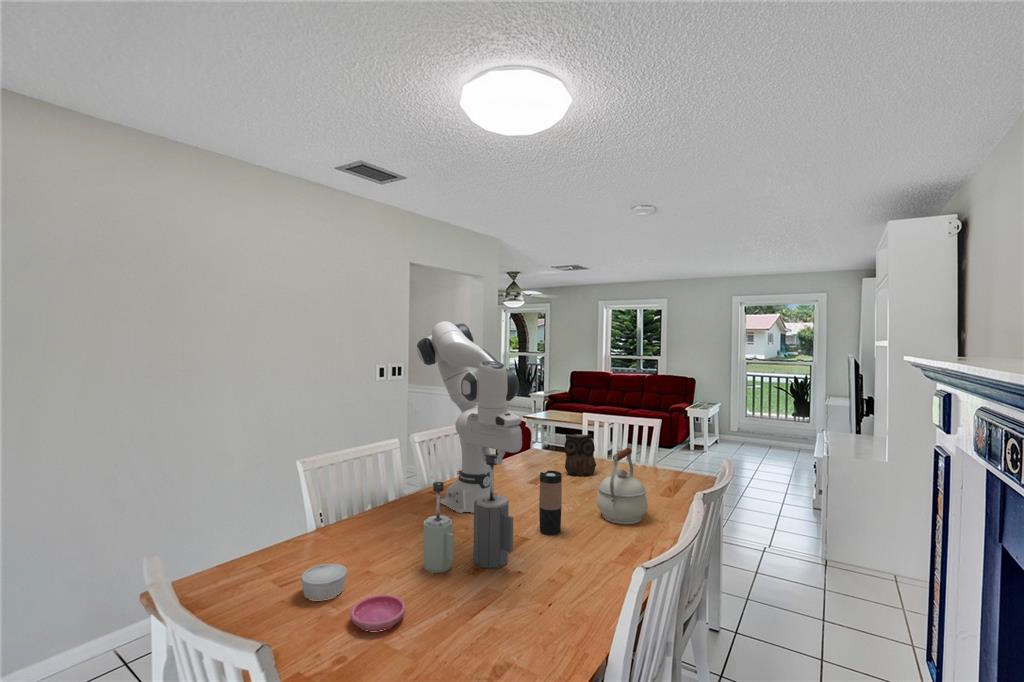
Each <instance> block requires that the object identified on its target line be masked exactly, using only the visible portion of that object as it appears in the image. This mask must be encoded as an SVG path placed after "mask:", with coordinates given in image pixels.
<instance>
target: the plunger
mask: <svg viewBox="0 0 1024 682" xmlns="http://www.w3.org/2000/svg"><path fill="white" fill-rule="evenodd" d="M497 456H498V454H496V453H495V454H494V453H492V454H491V453H490V454H488V455H486V464H487V465H490V500H491V501H492V500H494V495H495V494H494V492H495V486H494V485H495V479H494V478H495V466H497V464H495V463H494V462H495V461H494V459H495V458H497Z"/></svg>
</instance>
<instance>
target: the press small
mask: <svg viewBox="0 0 1024 682" xmlns="http://www.w3.org/2000/svg"><path fill="white" fill-rule="evenodd" d="M422 529H423V535H422V537H423V539H422V540H423V543H422V544H423V545H422V547H423V548H422V549H423V550H422V552H423V553H422V558H423V559H422V566H423V569H424V571H425V570H426V571H425V572H427V571H429V572H428V573H430V572H433V573H432V574H441V573H440V572H442V573H445V572H444V571H446V572H448V571H449V570H450V569H451V568H452V562H453V560H454V559H455V533H453V519H452V518H450V517H449V516H447V515H443V514H440V518H436V515H432V516H428V517H426V519H424V521H423V528H422ZM447 570H448V571H447Z"/></svg>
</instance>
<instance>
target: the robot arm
mask: <svg viewBox="0 0 1024 682" xmlns="http://www.w3.org/2000/svg"><path fill="white" fill-rule="evenodd" d="M416 352H417V356H418V358H419V359H420V361H422V363H423V364H424V365H426V366H432V365H435V364H436V363H437V367H438V370H439V373H440V376H441V379H442V381H443V383H444V386H445V389H446V391H447V393H448V394H449V395H448V396H449V397H450V400H451V401H452V402H453V403H454V404H455V405H456V407H458V409H459V410H460V412H461V413H460V414H459V416H458V417H457V420H456V421H455V431H456V433H457V434H458V439H459V443H460V447H461V470H458V471H457V472H456V476H457V475H458V477H457V479H455V481H454V482H453V483H451V484H449V486H448V487H447V488H446V491H445V496H444V497H442V498H440V503H442V504H444V505H446V506H448V507H449V508H448V507H447V508H448V509H450V508H451V509H450V510H452V509H453V510H455V511H456V513H457V512H459V513H458V514H464V513H463V512H471V513H470V514H474V502H475V500H477V498H478V497H481V496H484V495H490V465H487V464H486V455H488V454H491V450H492V449H493V450H496V453H497V455H498V456H497V458H495V459H494V461H495V462H494V463H495V464H497V465H498V466H500V465H502V464H503V458H504V456H505V454H506V453H511V454H514V453H518V452H520V451H521V450H522V447H523V434H522V432H523V431H522V429H521V426H520V424H521V423H522V418H521V416H519V415H517V414H515V413H513V412H512V411H510V410H509V409H508V402H510V401H513V399H514V398H515V397H516V396H517V394H518V392H519V389H520V382H519V378H518V376H517V375H516V374H515V372H513V370H511V369H509V368H506V365H505V364H504V363H502V362H500V361H498V360H497V359H496V358H495V357H494V356H493V355H492V354H491V353H489V352H488V351H487V350H486V349H485V348H484V347H483V348H482V347H481V346H479V345H478V344H476V343H474V334H473V332H472V330H471V329H470V327H469V326H468V325H467V324H465V323H457V324H455V323H453V322H450V321H446V320H445V321H444V320H443V321H439V322H438V323H436V324H435V325H433V329H432V331H431V335H429V336H426V337H423V338H421V339H420V340H419V341H418V342H417V345H416ZM469 368H473V369H475V370H472V371H470V369H469ZM490 449H491V450H490ZM497 465H496V466H497ZM442 504H441V505H442ZM444 505H443V506H444ZM446 506H445V507H446ZM453 510H452V511H453ZM455 511H454V512H455Z"/></svg>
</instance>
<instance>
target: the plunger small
mask: <svg viewBox="0 0 1024 682" xmlns="http://www.w3.org/2000/svg"><path fill="white" fill-rule="evenodd" d="M444 484H445V483H444V482H443V481H434V482H433V483H432V490H433V492H436V511H435V512H436V513H435V516H436V518H440V515H441V504H440V500H441V492H443V491H444Z"/></svg>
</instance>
